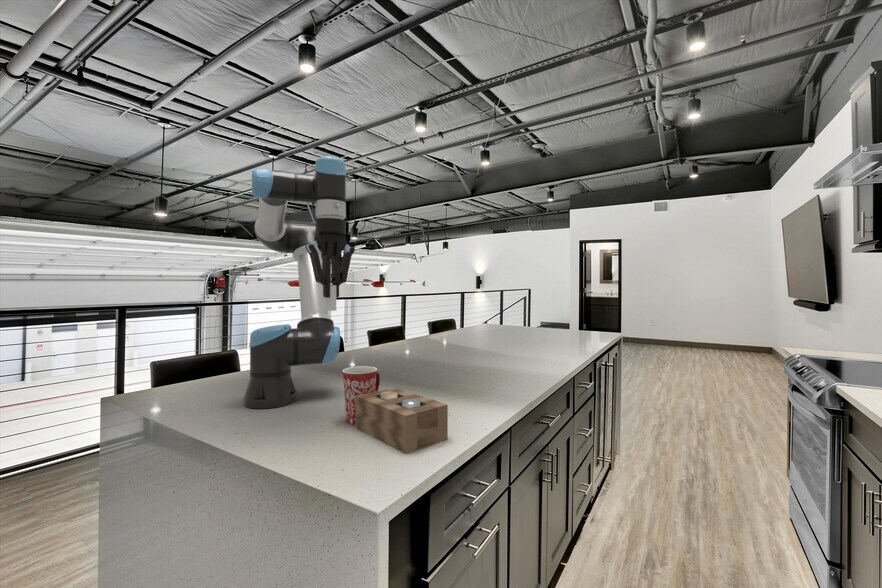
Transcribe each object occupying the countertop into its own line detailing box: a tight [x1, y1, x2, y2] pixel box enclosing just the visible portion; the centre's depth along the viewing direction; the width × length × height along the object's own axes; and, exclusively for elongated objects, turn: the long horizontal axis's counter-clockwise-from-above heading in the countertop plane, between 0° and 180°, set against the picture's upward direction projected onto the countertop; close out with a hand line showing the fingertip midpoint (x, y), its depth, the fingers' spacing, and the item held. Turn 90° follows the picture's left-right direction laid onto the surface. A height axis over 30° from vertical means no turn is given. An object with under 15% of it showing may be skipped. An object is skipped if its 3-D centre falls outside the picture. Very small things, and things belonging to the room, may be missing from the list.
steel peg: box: [402, 399, 420, 409], centre depth 91 cm, size 4×4×8 cm
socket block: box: [355, 387, 449, 454], centre depth 94 cm, size 21×12×8 cm, turn 42°
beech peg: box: [381, 391, 398, 400], centre depth 97 cm, size 4×4×8 cm
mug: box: [341, 365, 381, 425], centre depth 105 cm, size 13×9×14 cm
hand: (331, 310), depth 101 cm, fingers closed
